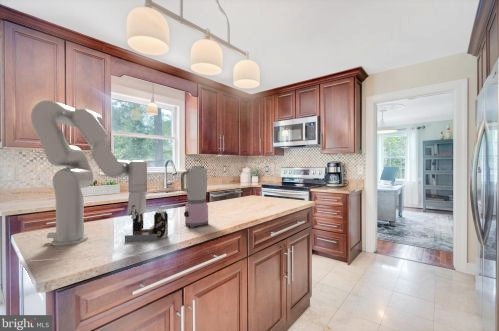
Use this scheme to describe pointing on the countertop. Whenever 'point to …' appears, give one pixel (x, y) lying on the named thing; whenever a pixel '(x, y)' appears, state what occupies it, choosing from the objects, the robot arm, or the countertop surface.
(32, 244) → the countertop surface
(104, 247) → the countertop surface
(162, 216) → the beverage can
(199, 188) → the blender
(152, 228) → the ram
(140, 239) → the channel
